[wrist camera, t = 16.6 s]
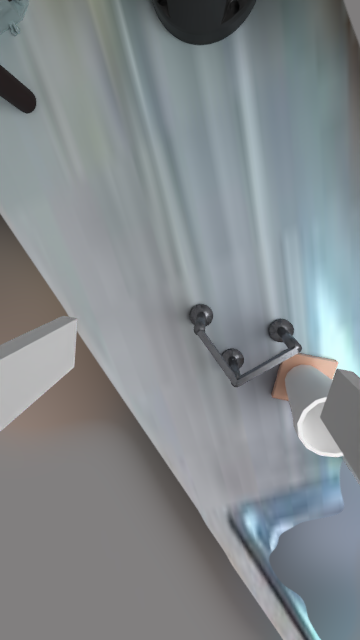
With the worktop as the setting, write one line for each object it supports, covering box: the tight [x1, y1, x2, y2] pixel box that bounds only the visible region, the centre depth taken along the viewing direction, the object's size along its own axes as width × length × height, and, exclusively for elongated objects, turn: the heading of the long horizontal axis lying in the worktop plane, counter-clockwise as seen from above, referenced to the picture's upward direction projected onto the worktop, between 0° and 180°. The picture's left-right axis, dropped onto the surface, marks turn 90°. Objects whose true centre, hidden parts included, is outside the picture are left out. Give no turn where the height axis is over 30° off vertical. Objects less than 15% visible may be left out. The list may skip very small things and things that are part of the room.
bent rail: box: [190, 304, 302, 387], centre depth 45 cm, size 11×18×10 cm, turn 81°
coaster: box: [271, 350, 338, 401], centre depth 49 cm, size 9×9×1 cm
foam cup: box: [285, 365, 344, 457], centre depth 43 cm, size 10×9×13 cm
